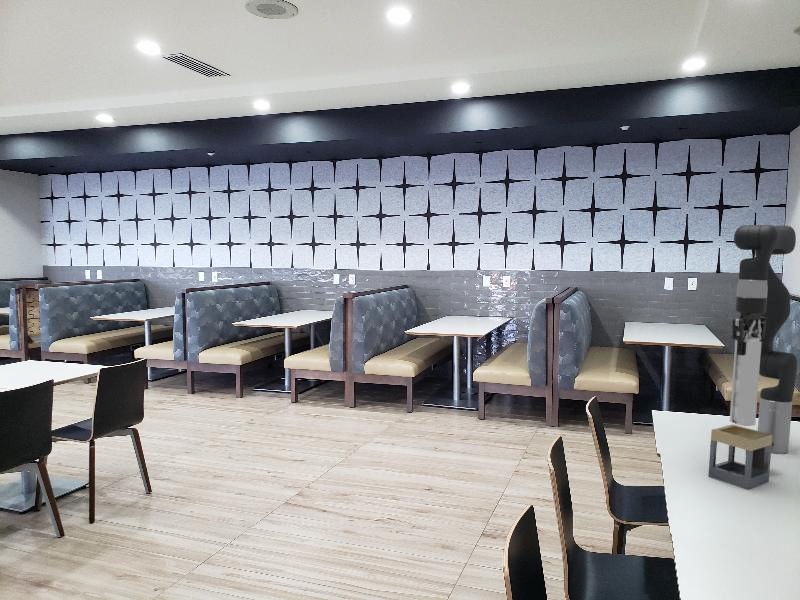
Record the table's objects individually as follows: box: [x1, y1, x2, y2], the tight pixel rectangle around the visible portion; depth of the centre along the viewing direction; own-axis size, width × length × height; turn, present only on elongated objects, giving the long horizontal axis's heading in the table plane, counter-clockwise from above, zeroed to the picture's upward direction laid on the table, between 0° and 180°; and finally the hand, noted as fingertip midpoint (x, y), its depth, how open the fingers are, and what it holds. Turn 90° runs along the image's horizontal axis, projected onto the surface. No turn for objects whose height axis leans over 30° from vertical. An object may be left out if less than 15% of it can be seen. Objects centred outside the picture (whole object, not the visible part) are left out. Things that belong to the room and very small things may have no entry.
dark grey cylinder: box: [752, 442, 774, 470], centre depth 186 cm, size 8×8×10 cm
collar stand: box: [708, 423, 772, 490], centre depth 178 cm, size 11×11×14 cm
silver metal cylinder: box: [729, 335, 761, 427], centre depth 176 cm, size 6×6×25 cm
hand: (747, 353), depth 175 cm, fingers closed on silver metal cylinder, 6 cm apart
